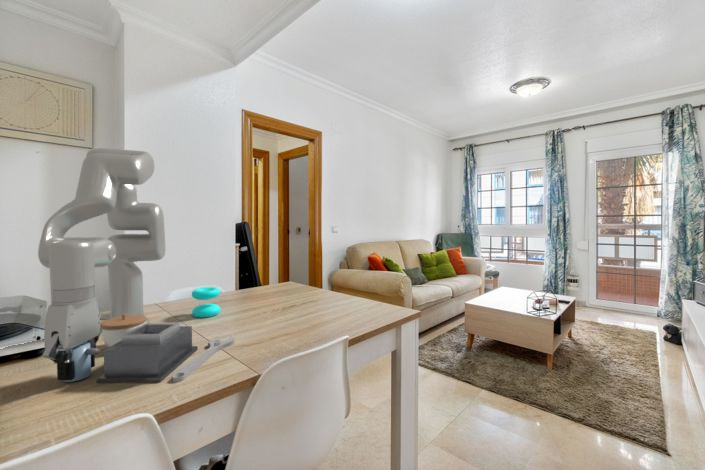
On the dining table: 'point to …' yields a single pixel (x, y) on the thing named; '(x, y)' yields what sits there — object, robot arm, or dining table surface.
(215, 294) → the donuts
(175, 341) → the grey open box
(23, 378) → the dining table surface
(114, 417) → the dining table surface
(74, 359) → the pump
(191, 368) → the adjustable wrench
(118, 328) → the lidded jar
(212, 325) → the dining table surface
